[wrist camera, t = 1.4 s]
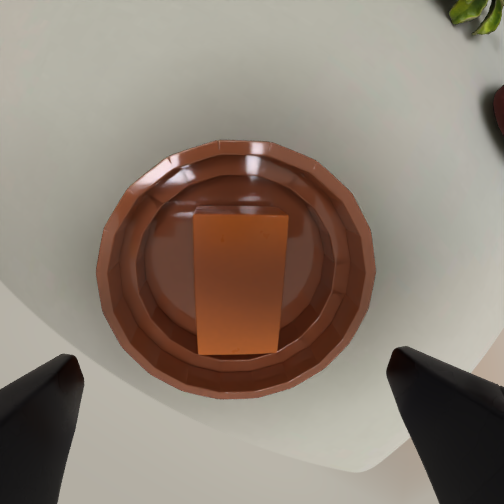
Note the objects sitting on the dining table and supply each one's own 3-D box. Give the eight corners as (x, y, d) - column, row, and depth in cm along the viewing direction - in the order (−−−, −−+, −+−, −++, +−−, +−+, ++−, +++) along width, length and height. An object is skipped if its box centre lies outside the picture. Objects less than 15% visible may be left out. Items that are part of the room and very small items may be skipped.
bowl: (326, 349, 19) (347, 388, 15) (137, 353, 18) (123, 395, 14) (351, 155, 15) (390, 156, 11) (119, 148, 14) (87, 146, 10)
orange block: (269, 321, 17) (280, 353, 14) (197, 322, 17) (195, 355, 14) (277, 204, 15) (293, 215, 12) (195, 202, 15) (188, 213, 12)
